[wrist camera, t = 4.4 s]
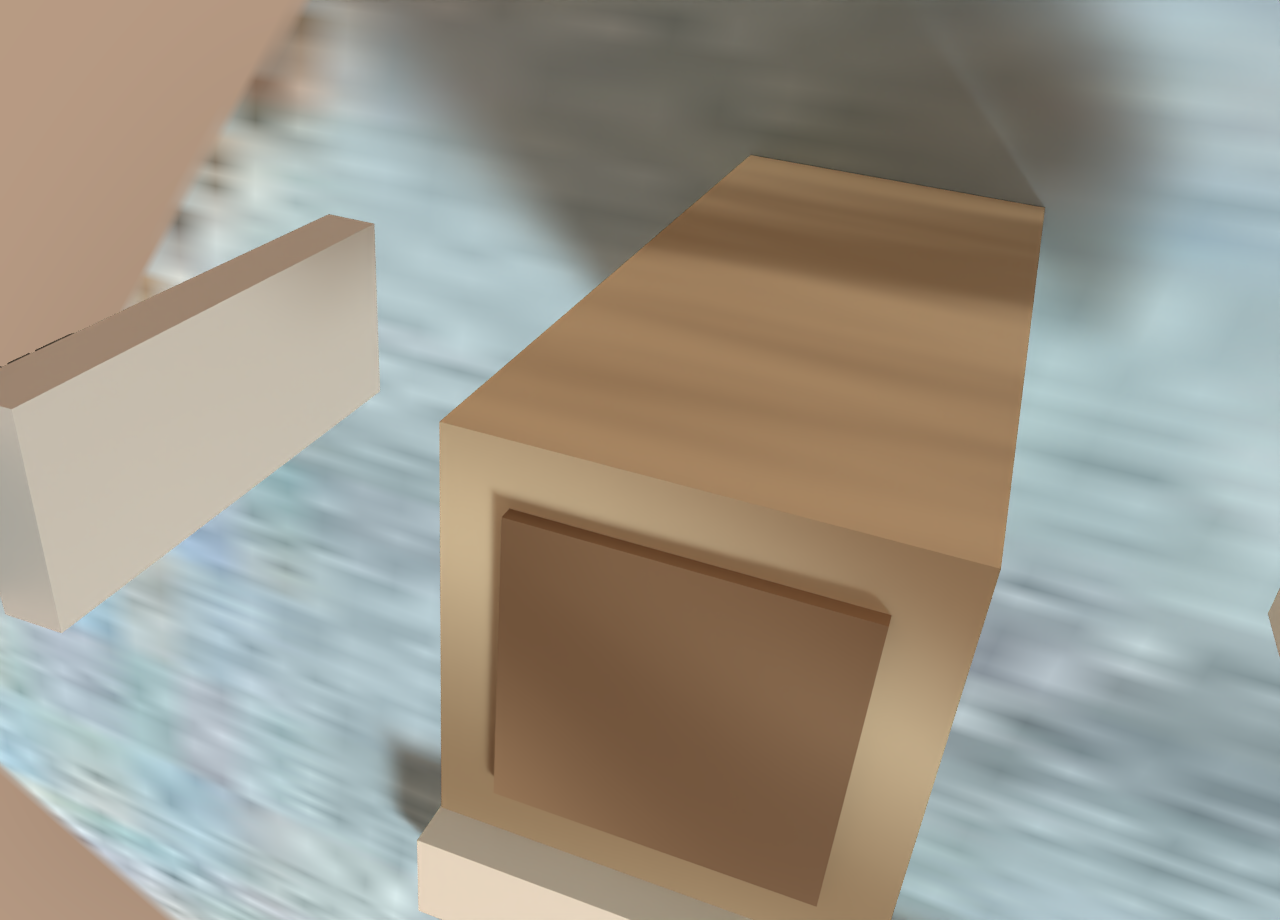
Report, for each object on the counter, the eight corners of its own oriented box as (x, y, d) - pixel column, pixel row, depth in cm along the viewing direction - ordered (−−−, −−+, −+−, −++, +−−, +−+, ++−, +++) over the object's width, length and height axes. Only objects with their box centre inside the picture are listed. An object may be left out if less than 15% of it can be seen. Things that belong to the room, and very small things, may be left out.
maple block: (750, 155, 17) (430, 430, 9) (1044, 207, 16) (998, 579, 8) (715, 407, 19) (434, 817, 11) (971, 469, 18) (874, 979, 10)
